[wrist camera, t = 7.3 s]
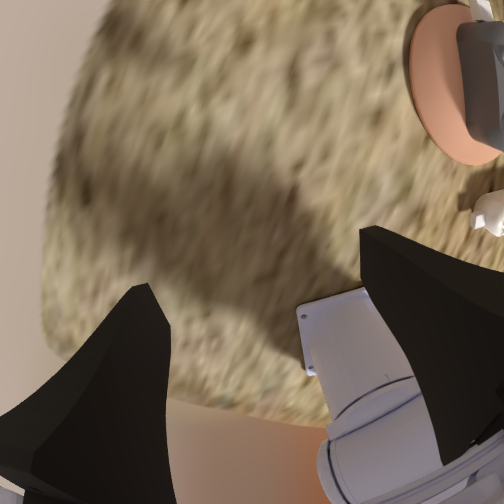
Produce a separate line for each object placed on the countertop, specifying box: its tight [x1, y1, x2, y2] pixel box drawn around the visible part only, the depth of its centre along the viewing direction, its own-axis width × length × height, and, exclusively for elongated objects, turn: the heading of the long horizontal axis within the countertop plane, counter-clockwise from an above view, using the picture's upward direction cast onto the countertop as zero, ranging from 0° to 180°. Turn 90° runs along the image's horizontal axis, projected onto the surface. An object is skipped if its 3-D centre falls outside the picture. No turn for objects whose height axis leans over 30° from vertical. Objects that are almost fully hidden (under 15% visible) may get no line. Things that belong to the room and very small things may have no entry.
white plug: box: [470, 189, 504, 237], centre depth 20 cm, size 9×3×3 cm, turn 102°
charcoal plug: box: [456, 0, 504, 152], centre depth 12 cm, size 11×4×4 cm, turn 13°
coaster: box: [409, 4, 502, 165], centre depth 15 cm, size 13×13×1 cm
